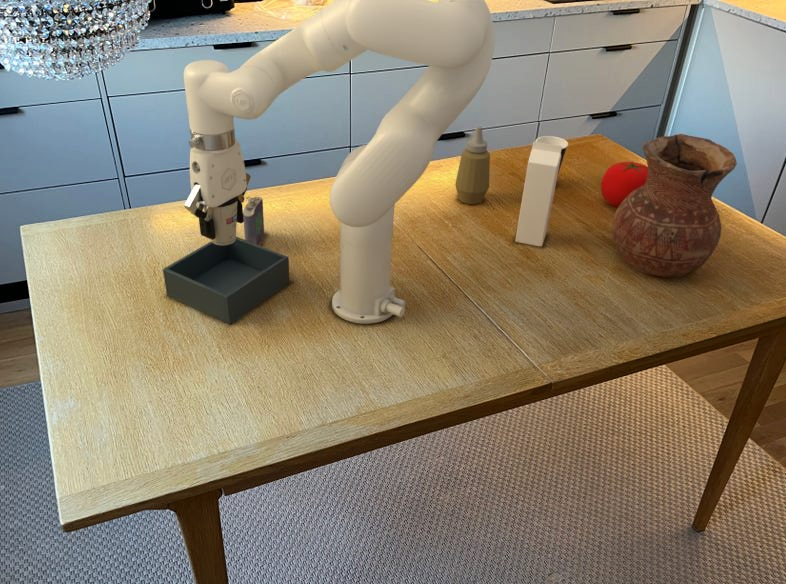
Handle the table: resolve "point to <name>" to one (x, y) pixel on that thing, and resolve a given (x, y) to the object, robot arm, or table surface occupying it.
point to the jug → (673, 207)
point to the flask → (254, 220)
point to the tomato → (622, 181)
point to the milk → (538, 193)
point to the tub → (227, 278)
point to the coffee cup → (225, 222)
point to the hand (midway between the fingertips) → (222, 228)
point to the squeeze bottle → (473, 170)
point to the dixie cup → (554, 141)
